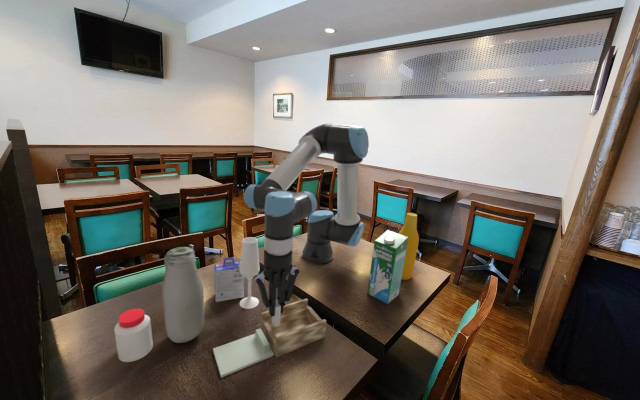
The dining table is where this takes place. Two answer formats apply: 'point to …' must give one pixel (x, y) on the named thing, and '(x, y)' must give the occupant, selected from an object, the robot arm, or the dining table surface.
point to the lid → (242, 353)
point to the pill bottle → (133, 335)
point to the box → (293, 328)
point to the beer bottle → (410, 244)
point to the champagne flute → (249, 268)
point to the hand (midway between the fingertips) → (275, 323)
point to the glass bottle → (182, 295)
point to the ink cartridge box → (228, 281)
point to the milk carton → (387, 266)
